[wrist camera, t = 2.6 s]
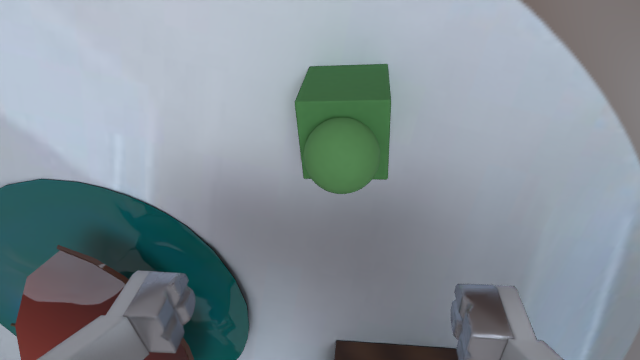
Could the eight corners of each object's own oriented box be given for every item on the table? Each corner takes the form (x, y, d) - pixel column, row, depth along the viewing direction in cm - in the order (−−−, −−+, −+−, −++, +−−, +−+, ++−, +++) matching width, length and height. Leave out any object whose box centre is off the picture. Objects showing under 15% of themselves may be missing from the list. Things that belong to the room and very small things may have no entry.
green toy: (387, 63, 21) (393, 131, 14) (385, 134, 24) (389, 218, 17) (309, 66, 22) (281, 132, 15) (315, 134, 24) (293, 215, 18)
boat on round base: (293, 357, 41) (274, 478, 31) (91, 384, 47) (24, 491, 38) (160, 131, 28) (58, 221, 18) (-92, 212, 35) (-264, 308, 25)
